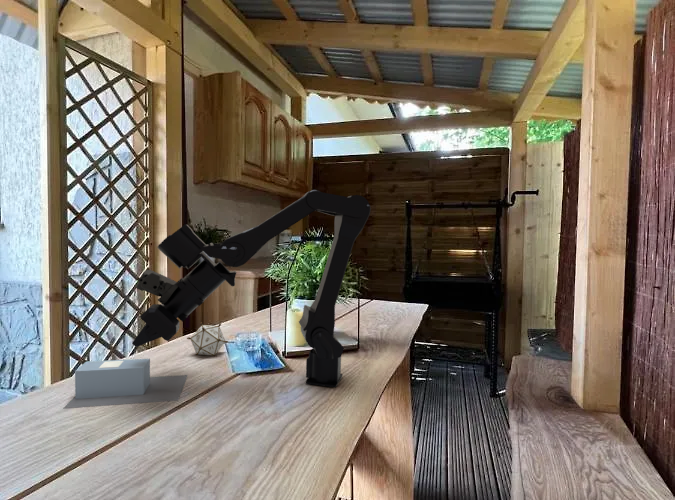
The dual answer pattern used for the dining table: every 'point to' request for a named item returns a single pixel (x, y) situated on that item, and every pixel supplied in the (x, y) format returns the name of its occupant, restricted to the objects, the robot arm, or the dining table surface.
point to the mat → (156, 392)
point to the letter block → (112, 378)
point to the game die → (207, 340)
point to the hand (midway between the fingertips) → (134, 344)
